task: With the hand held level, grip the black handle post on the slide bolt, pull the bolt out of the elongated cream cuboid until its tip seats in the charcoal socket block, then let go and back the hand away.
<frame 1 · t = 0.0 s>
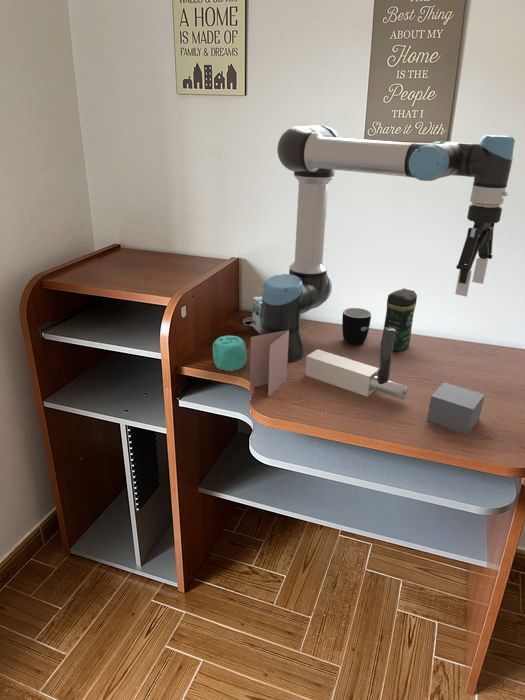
hand: (469, 288, 139), 28 cm above the table, tool pointing down, fingers open, 13 cm apart
coffee jar: (395, 346, 174), on the table
decorative dice: (229, 366, 158), on the table
greeting card: (273, 388, 146), on the table
slide bolt: (362, 354, 143), point 10 cm above the table, slide at 0.0 cm
mug: (356, 340, 177), on the table
elongated cream cuboid: (342, 382, 150), on the table
socket block: (453, 419, 133), on the table
light bulb box: (269, 328, 185), on the table
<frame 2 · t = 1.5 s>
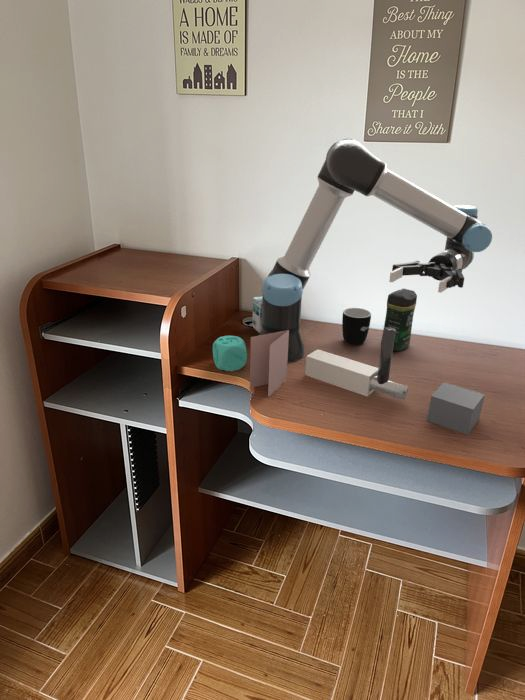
hand: (414, 282, 142), 28 cm above the table, tool horizontal, fingers open, 13 cm apart
nothing on the table moved.
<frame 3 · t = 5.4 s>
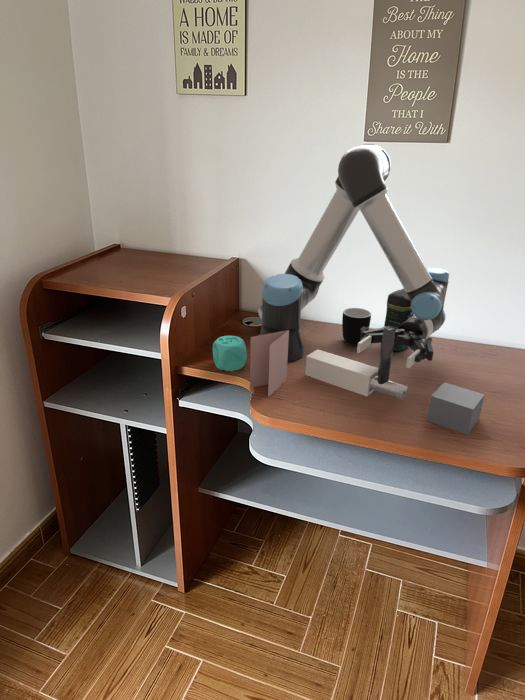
hand: (382, 355, 136), 13 cm above the table, tool horizontal, fingers open, 13 cm apart
light bulb box: (271, 321, 184), point 2 cm above the table, touching arm
everything else where it was.
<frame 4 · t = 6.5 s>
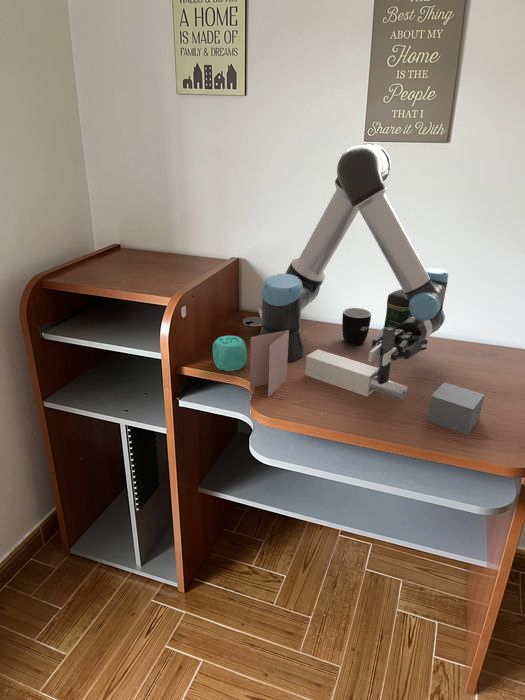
hand: (377, 358, 134), 13 cm above the table, tool horizontal, fingers closed on slide bolt, 3 cm apart
slide bolt: (362, 354, 143), point 10 cm above the table, slide at 0.0 cm, touching gripper
everything else where it was.
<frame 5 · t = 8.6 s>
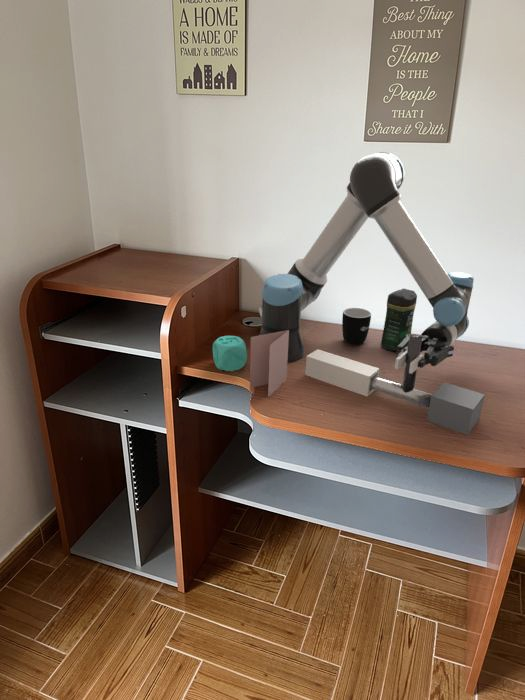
hand: (403, 366, 131), 13 cm above the table, tool horizontal, fingers closed on slide bolt, 3 cm apart
slide bolt: (387, 361, 139), point 10 cm above the table, slide at 7.0 cm, touching gripper
everything else where it was.
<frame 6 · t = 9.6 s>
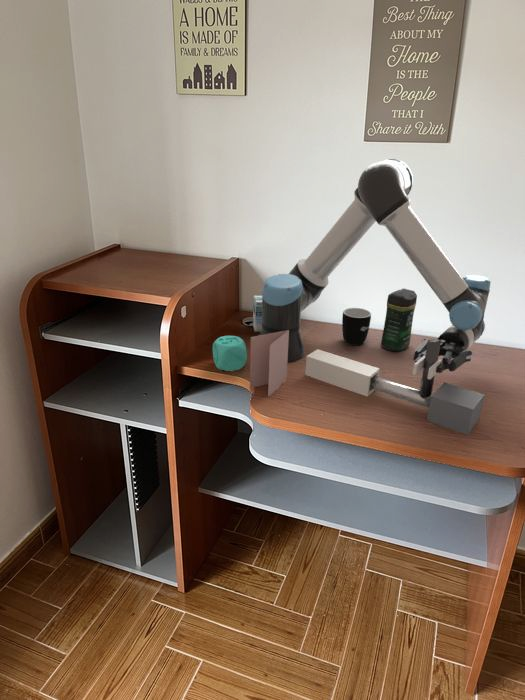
hand: (422, 371, 128), 13 cm above the table, tool horizontal, fingers closed on slide bolt, 3 cm apart
slide bolt: (403, 366, 137), point 10 cm above the table, slide at 11.6 cm, touching gripper
light bulb box: (268, 328, 185), on the table
everything else where it was.
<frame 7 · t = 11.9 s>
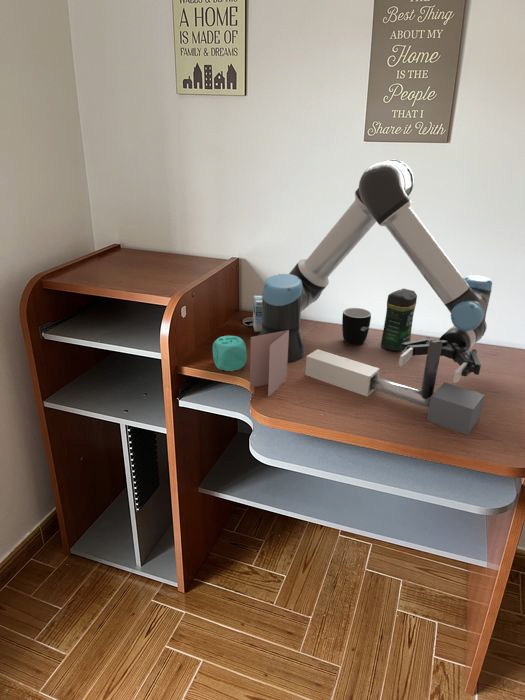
hand: (427, 369, 129), 13 cm above the table, tool horizontal, fingers open, 13 cm apart
slide bolt: (405, 367, 137), point 10 cm above the table, slide at 12.0 cm
everything else where it was.
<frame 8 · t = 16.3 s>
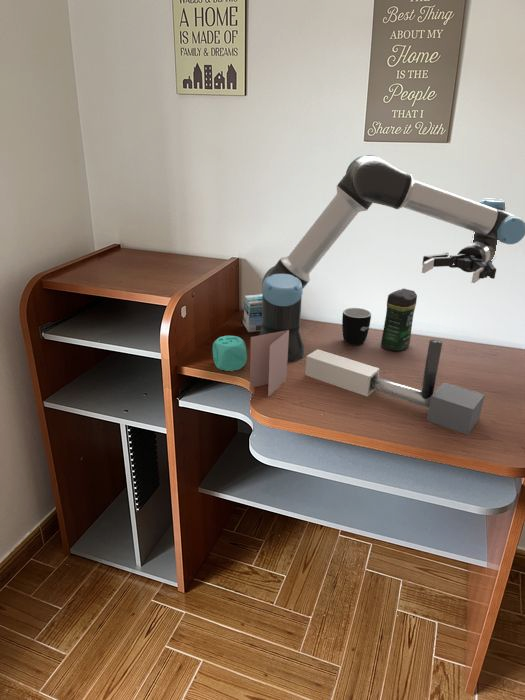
hand: (448, 272, 144), 30 cm above the table, tool horizontal, fingers open, 13 cm apart
light bulb box: (260, 327, 185), on the table, touching arm
everything else where it was.
at the end: slide bolt slide at 12.0 cm; the gripper is holding nothing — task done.
